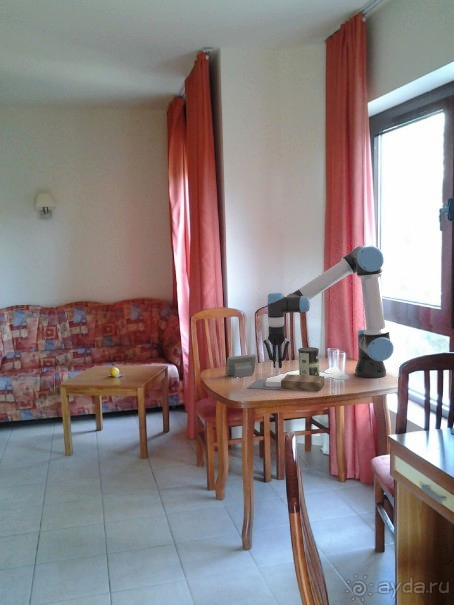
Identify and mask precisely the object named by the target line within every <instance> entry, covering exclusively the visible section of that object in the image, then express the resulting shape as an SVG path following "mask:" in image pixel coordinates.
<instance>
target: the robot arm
mask: <svg viewBox="0 0 454 605" xmlns="http://www.w3.org/2000/svg"><path fill="white" fill-rule="evenodd" d="M384 262H385V256H384V253H383V251H382V250H381V249H380V248H378V247H377V246H375V245H371V244H369V245H368V244H367V245H366V244H365V245H359V246H357V247H356V248H353V250H351V251H350V252H348V253H347V254H346V255H345V256H343V257H342V258H341V259H340V261H339V262H338V263H336V264H334V265H333V266H332V267H330V268H328V269H327V270H326V271H324V272H322V273H321V274H320V275H318V276H316V277H315V278H313V279H312V280H311V281H309V282H307V283H305V284H304V285H303V286H301V287H300V288H298V289H296V290H295V291H294V292H290V293H288V294H287V295H286V296H284V293H282V292H271V293H268V295H267V325H268V328H267V329H268V335H267V338H266V339H264V340H263V344H264V345H265V348H266V352H267V356H268V359H269V361H272V362H273V364H272V365H273V368H274V369H275V376H280V375H281V369H282V368H283V361H285V360H286V358H287V355H288V354H287V353H288V349H289V345H290V343H291V340H290V339H288V338H287V337H286V334H285V333H286V332H285V326H284V325H285V314H289V313H290V314H291V313H292V314H293V313H307V312H309V311H310V307H311V306H310V305H311V304H310V303H311V302H310V300H312V299H314V298H315V297H316V296H318V295H319V294H321V293H322V292H324V291H326V290H327V289H329V288H330V287H332V286H334V285H335V284H336V283H338V282H340V281H342V280H343V279H345V278H346V277H348V276H349V275H354V274H356V275H357V277H358V278H359V279H360V283H361V293H362V299H363V300H362V301H363V302H362V303H363V310H364V311H363V312H364V319H365V328H363V329H362V328H361V329H359V330H358V332H357V352H358V354H357V355H358V356H357V357H358V359H357V361H356V365H355V368H354V374H356V375H355V376H357V377H362V378H368V379H369V378H370V379H371V378H373V379H374V378H382V377H385V376H386V375H387V369H386V366H385V364H384V361H386V360H388V359H390V358H391V356H392V355H393V353H394V350H395V348H394V343H393V342H392V341H391V338H390V336H391V335H390V330H389V329H388V328H387V327H386V322H385V313H384V303H383V294H382V286H381V277H382V275H383V272H384V271H383V265H384ZM283 343H284V347H283V346H282V345H283ZM270 344H271V345H270ZM271 346H272V349H271ZM282 347H283V349H282Z"/></svg>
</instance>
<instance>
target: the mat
mask: <svg viewBox="0 0 454 605" xmlns="http://www.w3.org/2000/svg"><path fill="white" fill-rule="evenodd" d="M267 379H268V378H267ZM267 379H266V378H265V379H264V378H263V379H262V378H257V379H255V380H254V381H252V383H251V384H249V385H248V386H247V388H246V389H254V390H256V389H257V390H267V389H268V390H269V391H270V390H271V391H272V390H273V391H281V390H282V389H281V387H273V386H266V381H267Z"/></svg>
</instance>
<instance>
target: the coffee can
mask: <svg viewBox="0 0 454 605" xmlns="http://www.w3.org/2000/svg"><path fill="white" fill-rule="evenodd" d="M297 351H298V372H299V373H298V375H312V376H320V356H319V355H320V354H319V353H320V348H318V347H311V346H310V347H309V346H308V347H307V346H306V347H299V348H298V350H297Z"/></svg>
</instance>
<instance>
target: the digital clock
mask: <svg viewBox="0 0 454 605" xmlns="http://www.w3.org/2000/svg"><path fill="white" fill-rule="evenodd" d="M256 360H257V355H256V354H253V353H252V354H244V355H236V356H235V355H234V356H228V357H227V358H226V364H225V375H226V376H228V377H229V376H232V377H234V376H235V377H234V378H237V377H238V378H243V377H245V376H246V377H252V376H253V373H255V370H256Z"/></svg>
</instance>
